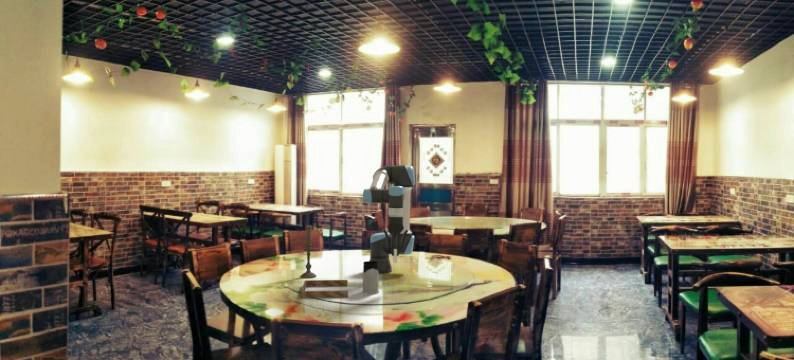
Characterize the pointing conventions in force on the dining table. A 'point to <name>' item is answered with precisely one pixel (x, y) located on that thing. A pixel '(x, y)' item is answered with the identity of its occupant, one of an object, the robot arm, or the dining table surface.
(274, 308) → the dining table surface
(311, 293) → the corral
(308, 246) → the candlestick holder
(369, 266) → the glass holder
